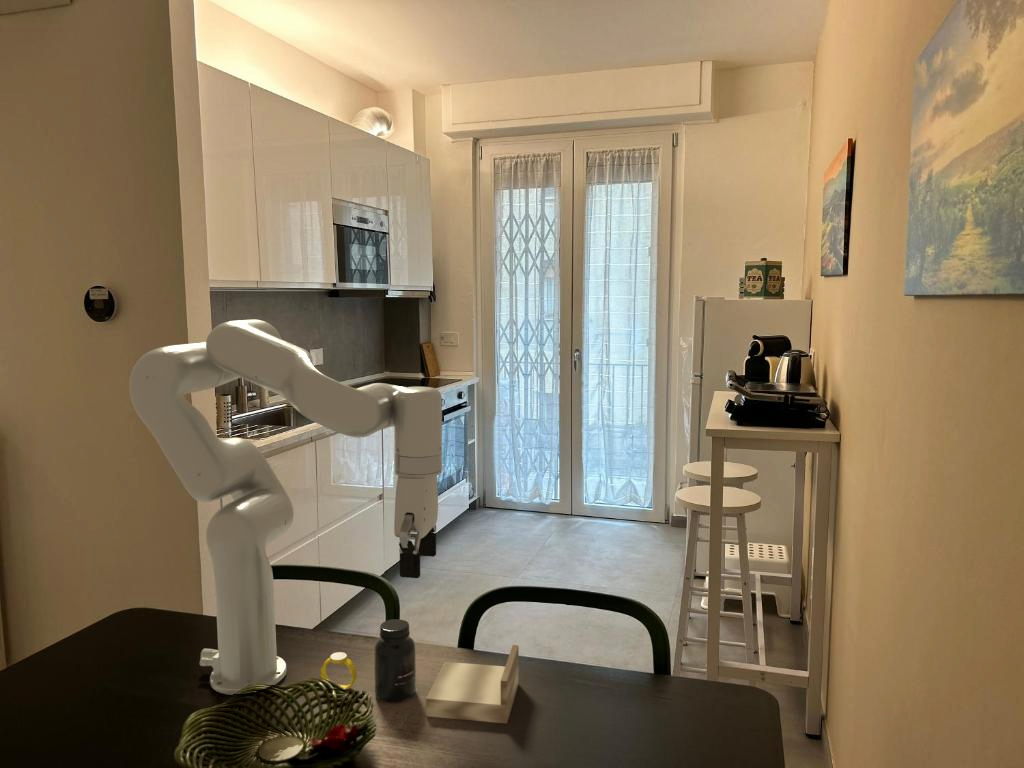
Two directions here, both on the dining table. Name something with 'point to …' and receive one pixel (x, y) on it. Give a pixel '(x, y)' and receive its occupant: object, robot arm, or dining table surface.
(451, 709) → the birch stand
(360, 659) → the dining table surface
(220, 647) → the robot arm
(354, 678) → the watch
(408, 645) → the supplement bottle
